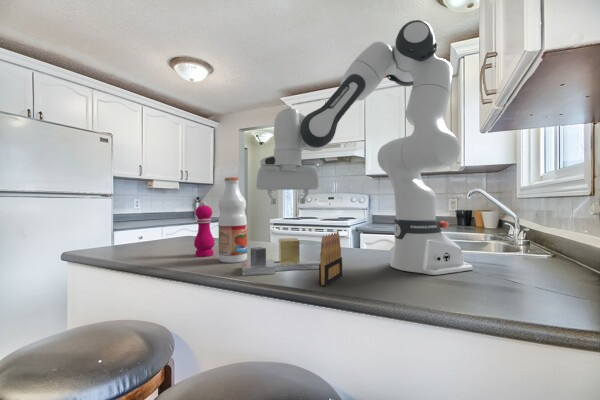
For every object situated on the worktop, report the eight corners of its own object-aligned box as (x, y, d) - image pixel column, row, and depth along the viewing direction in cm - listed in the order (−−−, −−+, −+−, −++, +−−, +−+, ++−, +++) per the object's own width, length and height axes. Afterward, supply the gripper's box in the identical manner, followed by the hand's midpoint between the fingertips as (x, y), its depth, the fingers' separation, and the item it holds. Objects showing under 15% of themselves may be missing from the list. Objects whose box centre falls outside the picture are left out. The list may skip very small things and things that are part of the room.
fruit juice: (224, 257, 106) (222, 178, 105) (250, 257, 105) (249, 178, 105) (214, 263, 96) (213, 177, 96) (243, 263, 96) (242, 176, 95)
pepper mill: (197, 258, 105) (196, 201, 104) (191, 255, 110) (190, 201, 110) (217, 255, 109) (216, 201, 109) (210, 252, 115) (209, 200, 114)
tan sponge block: (296, 260, 99) (296, 237, 99) (299, 264, 93) (299, 240, 93) (278, 261, 98) (278, 238, 98) (280, 265, 92) (280, 241, 92)
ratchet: (328, 263, 94) (327, 242, 94) (336, 270, 85) (336, 247, 85) (243, 267, 90) (242, 246, 90) (242, 275, 81) (241, 251, 81)
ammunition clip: (325, 286, 70) (325, 236, 70) (318, 285, 71) (318, 235, 71) (342, 275, 79) (342, 231, 79) (336, 275, 80) (335, 231, 80)
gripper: (317, 162, 100) (317, 203, 100) (255, 161, 97) (256, 204, 97) (321, 160, 94) (321, 203, 94) (256, 159, 90) (256, 204, 91)
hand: (288, 203), depth 95 cm, fingers open, 8 cm apart
